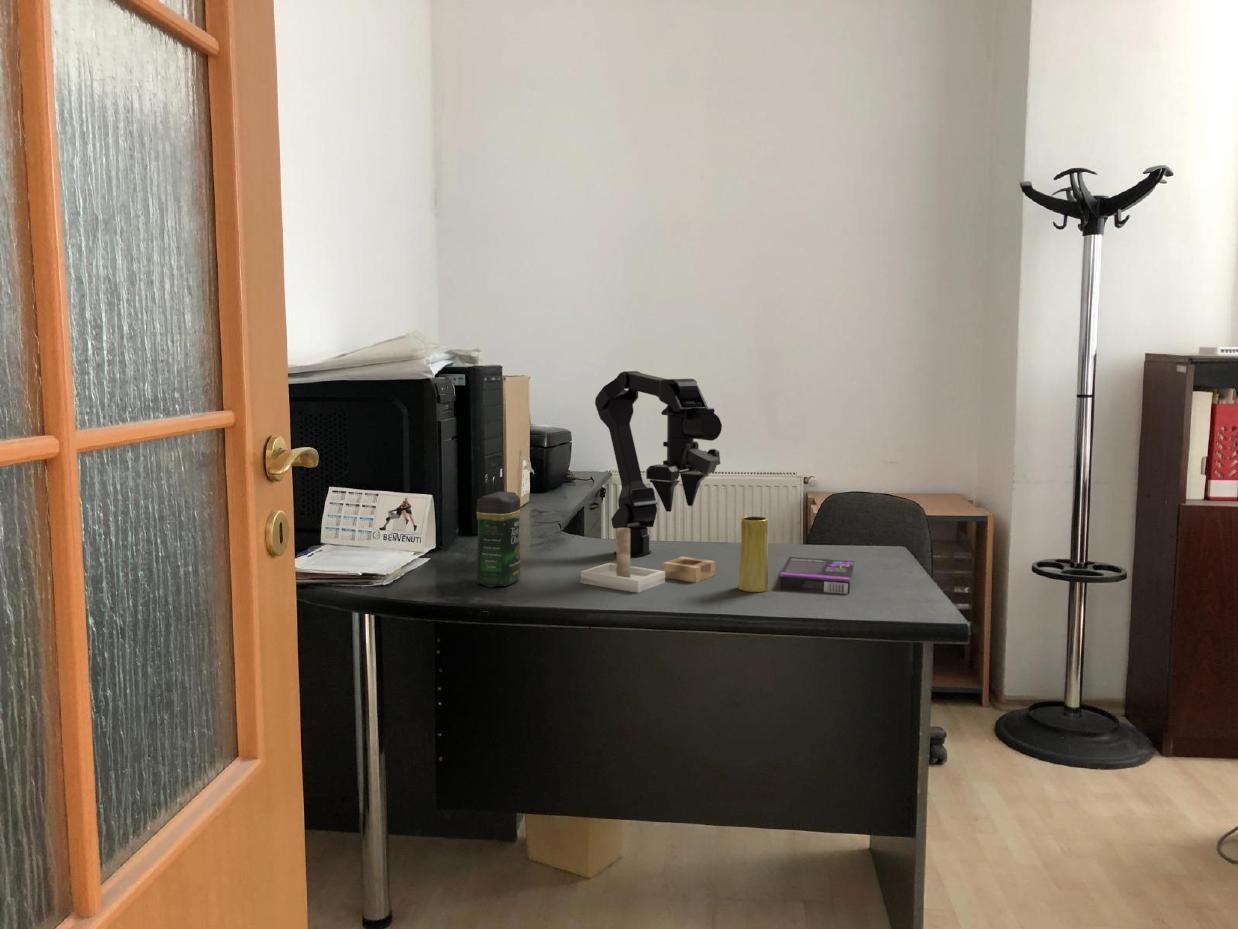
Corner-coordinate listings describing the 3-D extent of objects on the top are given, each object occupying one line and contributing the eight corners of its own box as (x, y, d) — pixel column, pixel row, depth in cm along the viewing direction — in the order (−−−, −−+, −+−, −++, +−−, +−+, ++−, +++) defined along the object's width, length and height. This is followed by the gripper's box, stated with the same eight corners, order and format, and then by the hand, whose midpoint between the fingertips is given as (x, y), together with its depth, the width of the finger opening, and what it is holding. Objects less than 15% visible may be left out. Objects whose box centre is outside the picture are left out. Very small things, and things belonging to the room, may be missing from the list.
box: (849, 598, 194) (854, 574, 213) (850, 581, 194) (855, 558, 212) (777, 592, 198) (788, 569, 216) (778, 575, 197) (789, 553, 216)
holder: (662, 577, 207) (662, 563, 207) (682, 570, 214) (682, 556, 213) (696, 582, 203) (696, 568, 202) (714, 575, 209) (715, 561, 209)
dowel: (613, 577, 201) (613, 529, 200) (621, 575, 204) (621, 527, 202) (625, 579, 200) (625, 530, 199) (632, 576, 202) (633, 528, 201)
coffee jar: (507, 589, 196) (507, 496, 194) (471, 586, 199) (470, 495, 196) (526, 578, 205) (525, 490, 203) (491, 575, 208) (490, 488, 206)
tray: (580, 583, 202) (580, 571, 201) (608, 573, 210) (608, 562, 210) (638, 592, 194) (638, 580, 194) (665, 582, 202) (665, 571, 202)
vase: (732, 586, 199) (733, 516, 198) (759, 584, 202) (760, 515, 200) (746, 593, 194) (748, 521, 192) (774, 591, 196) (776, 520, 194)
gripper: (691, 442, 201) (690, 518, 203) (733, 435, 216) (732, 506, 218) (645, 439, 207) (644, 513, 209) (689, 433, 222) (688, 501, 224)
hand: (679, 508), depth 215 cm, fingers open, 9 cm apart
